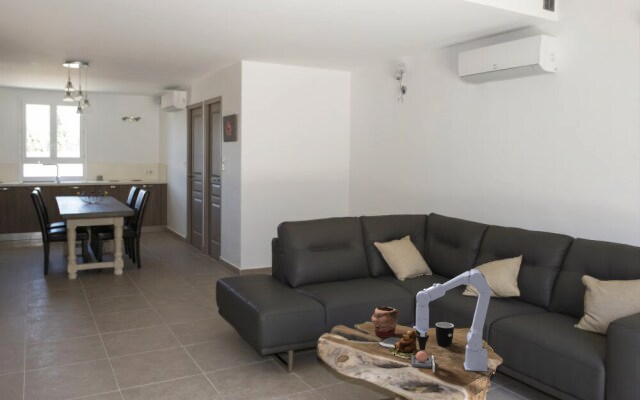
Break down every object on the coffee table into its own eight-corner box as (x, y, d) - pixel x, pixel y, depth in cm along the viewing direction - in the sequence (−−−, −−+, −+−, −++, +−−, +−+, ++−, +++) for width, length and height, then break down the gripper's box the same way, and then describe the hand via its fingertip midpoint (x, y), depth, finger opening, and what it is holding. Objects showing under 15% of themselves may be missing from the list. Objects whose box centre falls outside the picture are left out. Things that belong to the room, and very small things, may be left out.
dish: (430, 360, 251) (430, 357, 251) (431, 367, 243) (431, 364, 243) (411, 359, 253) (411, 356, 252) (411, 366, 244) (412, 363, 244)
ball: (426, 360, 250) (427, 350, 249) (427, 364, 245) (427, 353, 244) (415, 360, 251) (415, 349, 250) (415, 363, 246) (416, 353, 245)
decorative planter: (387, 326, 299) (387, 302, 298) (406, 331, 291) (406, 306, 290) (365, 336, 284) (366, 310, 283) (384, 341, 276) (385, 314, 275)
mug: (448, 349, 266) (448, 329, 265) (431, 344, 272) (432, 325, 271) (459, 342, 275) (459, 323, 274) (442, 338, 281) (443, 319, 280)
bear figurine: (400, 346, 270) (401, 322, 269) (427, 353, 260) (427, 329, 259) (385, 353, 260) (385, 328, 259) (411, 361, 250) (412, 336, 249)
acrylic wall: (433, 361, 250) (433, 355, 250) (434, 372, 238) (434, 365, 238) (431, 361, 250) (431, 355, 250) (433, 372, 238) (433, 365, 238)
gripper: (413, 312, 254) (412, 341, 255) (413, 322, 239) (413, 352, 240) (428, 313, 252) (428, 341, 254) (430, 323, 238) (429, 353, 239)
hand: (421, 346), depth 247 cm, fingers open, 7 cm apart
